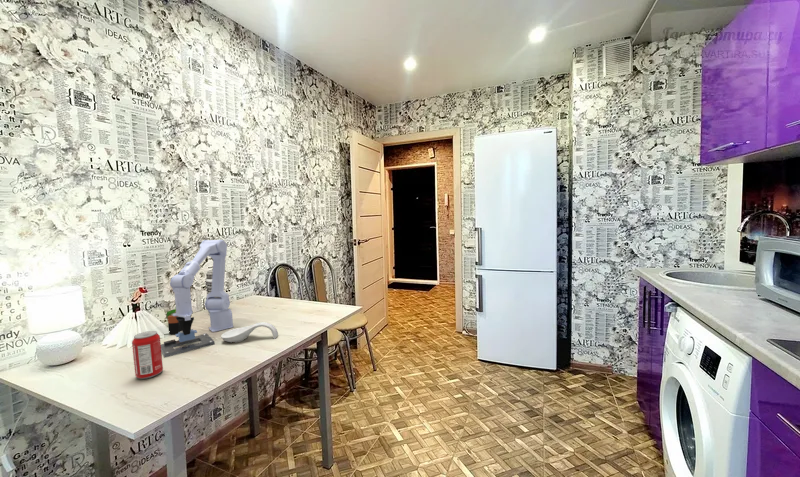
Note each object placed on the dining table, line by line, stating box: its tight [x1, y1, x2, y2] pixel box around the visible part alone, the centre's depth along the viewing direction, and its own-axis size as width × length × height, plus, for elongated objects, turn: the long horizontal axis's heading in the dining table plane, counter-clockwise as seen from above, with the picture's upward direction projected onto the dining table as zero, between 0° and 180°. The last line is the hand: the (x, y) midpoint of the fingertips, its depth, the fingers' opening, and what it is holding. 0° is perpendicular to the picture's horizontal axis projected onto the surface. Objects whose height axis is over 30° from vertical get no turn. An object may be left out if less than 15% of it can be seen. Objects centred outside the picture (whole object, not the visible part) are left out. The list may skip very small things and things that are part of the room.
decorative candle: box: [204, 269, 221, 316], centre depth 190 cm, size 9×9×25 cm
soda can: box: [131, 330, 164, 380], centre depth 117 cm, size 8×8×15 cm
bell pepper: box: [166, 306, 176, 320], centre depth 172 cm, size 8×8×10 cm
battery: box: [167, 311, 182, 336], centre depth 161 cm, size 4×7×10 cm, turn 5°
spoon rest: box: [220, 321, 279, 343], centre depth 149 cm, size 24×12×7 cm, turn 96°
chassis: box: [161, 333, 215, 358], centre depth 143 cm, size 18×14×2 cm
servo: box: [174, 328, 198, 342], centre depth 143 cm, size 8×3×4 cm, turn 132°
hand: (186, 333), depth 143 cm, fingers closed on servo, 3 cm apart
